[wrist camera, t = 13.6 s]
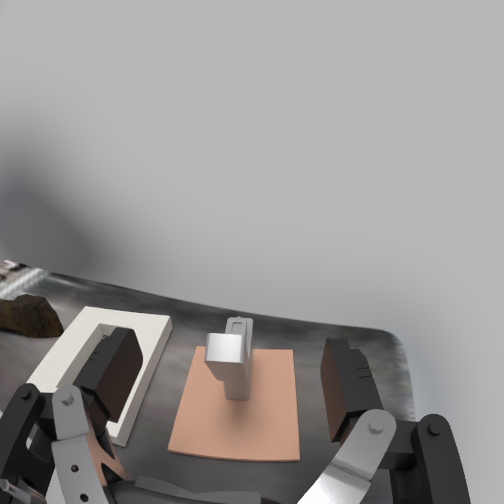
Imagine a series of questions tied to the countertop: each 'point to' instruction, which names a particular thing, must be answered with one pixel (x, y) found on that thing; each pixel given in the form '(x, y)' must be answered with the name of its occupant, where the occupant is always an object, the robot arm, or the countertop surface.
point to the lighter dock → (82, 345)
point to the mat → (240, 413)
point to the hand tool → (30, 316)
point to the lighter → (232, 357)
